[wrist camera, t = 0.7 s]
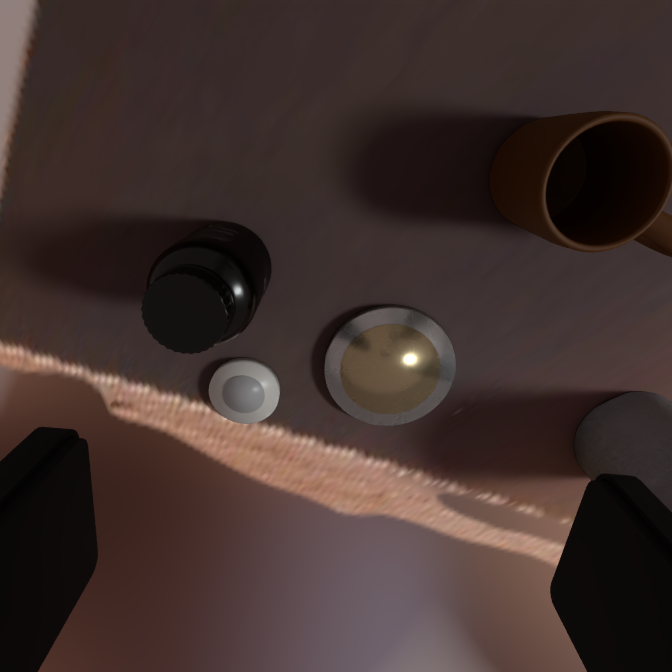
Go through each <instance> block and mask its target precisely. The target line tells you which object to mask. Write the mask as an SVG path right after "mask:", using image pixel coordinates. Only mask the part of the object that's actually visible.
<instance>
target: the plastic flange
mask: <svg viewBox="0 0 672 672" xmlns="http://www.w3.org/2000/svg"><path fill="white" fill-rule="evenodd" d="M279 395H280V384H279V381H278V378H277V376H276V375H275V373H274V372H273V370H272V369H271V368H270V367H268V366H267V365H266V364H264V363H263V362H261V361H258V360H256V359H252V358H235V359H231V360H229V361H227V362H225V363H223V364H222V365H221V366H220V367H219V368H218V369H217V370H216V372H215V373H214V375H213V377H212V379H211V382H210V385H209V397H210V400H211V403H212V405H213V406H214V408H215V409H216V410H217V411H218V412H219V413H220V414H221V415H222V416H223V417H225V418H227V419H229V420H231V421H233V422H237V423H244V424H249V423H256V422H259V421H261V420H264V419H265V418H267V417H268V416H270V415H271V414H272V413H273V411H274V410H275V408H276V406H277V404H278V400H279Z"/></svg>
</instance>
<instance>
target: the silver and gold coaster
mask: <svg viewBox="0 0 672 672" xmlns="http://www.w3.org/2000/svg"><path fill="white" fill-rule="evenodd" d="M455 367H456V361H455V354H454V350H453V347H452V344H451V342H450V340H449V338H448V336H447V335H446V333H445V331H444V330H443V329H442V327H441V326H440V325H439V324H438V323H437V322H436V321H435V320H434V319H433V318H432V317H430V316H429V315H427V314H426V313H424V312H422V311H420V310H418V309H415V308H412V307H408V306H403V305H393V304H392V305H380V306H375V307H372V308H368V309H365V310H363V311H361V312H359V313H357V314H355V315H354V316H352V317H351V318H349V319H348V320H347V321H345V322H344V323H343V324H342V325H341V326H340V327H339V328H338V330H337V331H336V332H335V334H334V335H333V337H332V339H331V341H330V343H329V345H328V348H327V351H326V356H325V369H324V370H325V380H326V384H327V387H328V390H329V392H330V394H331V396H332V397H333V399H334V400H335V402H336V403H337V404H338V405H339V406H340V407H341V408H342V409H343V410H344V411H345V412H346V413H348V414H349V415H351V416H352V417H354V418H356V419H358V420H361V421H363V422H366V423H370V424H375V425H383V426H391V425H400V424H405V423H408V422H412V421H414V420H417V419H419V418H421V417H423V416H424V415H426V414H428V413H429V412H430V411H432V410H433V409H434V408H435V407H436V406H438V405H439V403H440V402H441V401H442V400H443V399H444V397H445V396H446V395H447V393H448V391H449V389H450V387H451V385H452V382H453V379H454V375H455Z"/></svg>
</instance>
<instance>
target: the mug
mask: <svg viewBox="0 0 672 672" xmlns="http://www.w3.org/2000/svg"><path fill="white" fill-rule="evenodd" d="M490 191H491V196H492V199H493V201H494V203H495V205H496V207H497V209H498V210H499V211H500V213H501V214H502V215H503V216H504V217H505V218H506V219H508V220H509V221H510V222H512V223H513V224H515V225H517V226H519V227H521V228H523V229H525V230H527V231H529V232H531V233H533V234H535V235H537V236H539V237H541V238H543V239H545V240H547V241H550V242H552V243H554V244H557V245H560V246H562V247H566V248H570V249H573V250H577V251H582V252H602V251H607V250H611V249H614V248H617V247H619V246H622V245H624V244H626V243H628V242H630V241H631V240H633V239H634V240H635V241H637V242H639V243H641V244H643V245H645V246H647V247H649V248H651V249H653V250H655V251H657V252H659V253H662V254H664V255H667V256H670V257H672V216H671V215H669V214H667V213H665V212H663V211H662V210H663V209H664V207H665V205H666V204H667V201H668V199H669V197H670V195H671V192H672V144H671V142H670V140H669V138H668V137H667V135H666V134H665V132H664V131H663V130H662V129H661V127H659V126H658V125H657V124H656V123H655V122H653V121H652V120H650V119H648V118H647V117H644V116H642V115H639V114H635V113H629V112H613V111H597V112H587V113H577V114H568V115H561V116H553V117H546V118H542V119H538V120H535V121H532V122H530V123H528V124H526V125H524V126H522V127H521V128H519V129H518V130H516V131H515V132H514V133H513V134H512V135H510V136H509V137H508V138H507V140H506V141H505V142H504V143H503V144H502V146H501V147H500V149H499V150H498V152H497V154H496V156H495V158H494V161H493V164H492V167H491V172H490Z"/></svg>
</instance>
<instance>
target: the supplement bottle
mask: <svg viewBox="0 0 672 672" xmlns="http://www.w3.org/2000/svg"><path fill="white" fill-rule="evenodd" d="M270 277H271V260H270V256H269V253H268V250H267V248H266V246H265V245H264V243H263V242H262V240H261V239H260V238H259V237H258V236H257V235H256V234H255V233H254V232H252V231H251V230H250V229H248V228H246V227H244V226H242V225H239V224H236V223H232V222H217V223H212V224H209V225H207V226H204V227H203V228H201V229H199V230H197V231H195V232H194V233H192V234H191V235H189V236H187V237H186V238H184V239H182V240H181V241H179V242H177V243H176V244H174V245H173V246H171V247H169V248H168V249H167V250H165V251H164V252H163V253H162V254H161V255H160V256H159V257H158V258H157V259H156V261H155V262H154V264H153V266H152V267H151V270H150V272H149V276H148V280H147V291H146V292H145V293H144V298H143V300H142V307H141V311H142V318H143V320H144V325H145V326H146V327H147V329H148V332H149V333H150V334H152V336H153V338H154V339H155V340H157V341H158V342H159V344H161V345H164V346H165V347H166V348H167V349H172V350H173V351H174V352H181V353H183V354H184V353H189V354H193V353H200V352H202V351H207V350H208V349H209V348H210V347H214V346H215V345H217V344H222V343H225V342H227V341H230V340H232V339H233V338H235V337H237V336H238V335H239V334H240V333H242V332H243V331H244V330H245V328H246V327H247V326H248V325H249V323H250V322H251V320H252V318H253V316H254V314H255V312H256V310H257V308H258V306H259V304H260V301H261V299H262V297H263V295H264V293H265V291H266V289H267V286H268V284H269V281H270Z"/></svg>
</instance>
